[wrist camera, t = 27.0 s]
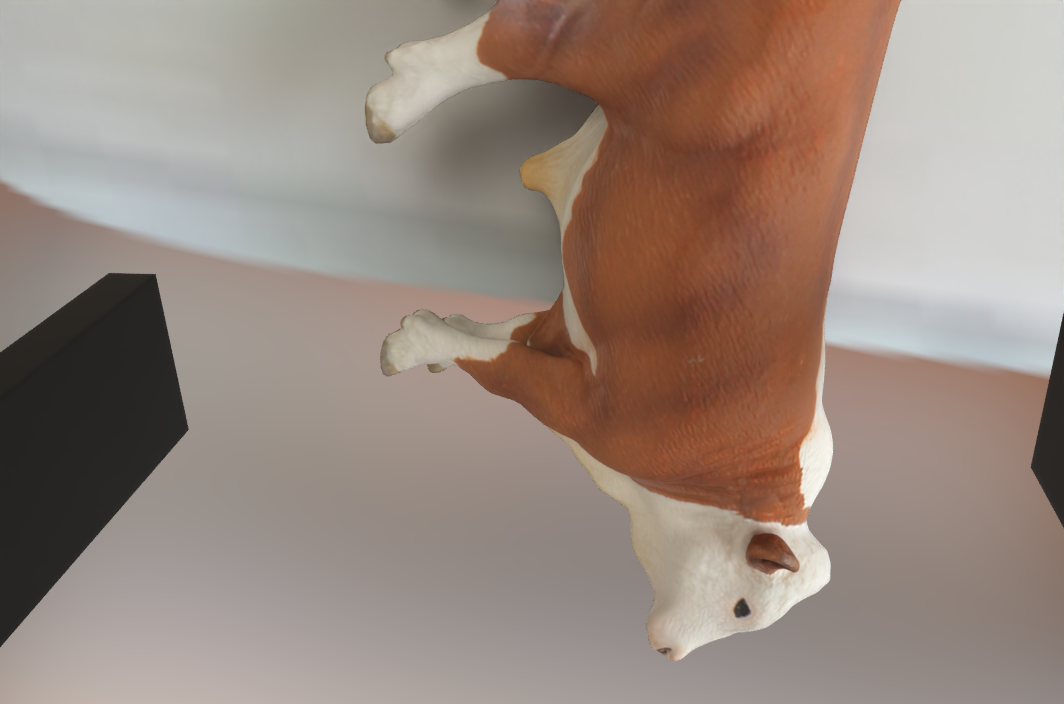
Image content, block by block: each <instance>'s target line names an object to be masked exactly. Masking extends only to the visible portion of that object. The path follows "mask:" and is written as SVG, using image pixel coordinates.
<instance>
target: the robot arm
mask: <svg viewBox="0 0 1064 704" xmlns="http://www.w3.org/2000/svg"><path fill="white" fill-rule="evenodd" d="M187 431H188V425H187V420H186V415H185V410H184V406H183V402H182V396H181V392H180V388H179V382H178V377H177V373H176V368H175V364H174V359H173V354H172V349H171V345H170V340H169V336H168V331H167V326H166V321H165V316H164V312H163V307H162V302H161V298H160V293H159V288H158V283H157V279H156V274H122V273H109V274H107V275H106V276H105V277H103V278H102V279H100V280H99V281H98V282H96V283H95V284H93V285H92V286H91V287H90V288H88V289H87V290H85V291H84V292H83V293H81V294H80V295H78V296H77V297H76V298H74V299H73V300H72V301H70V302H69V303H67V304H66V305H65V306H63V307H62V308H61V309H59V310H58V311H56V312H55V313H54V314H52V315H51V316H50V317H48V318H47V319H46V320H44V321H43V322H41V323H40V324H39V325H37V326H36V327H35V328H33V329H32V330H31V331H29V332H28V333H26V334H25V335H24V336H23V337H21V338H19V339H18V340H17V341H15V342H14V343H13V344H11V345H10V346H9V347H7V348H6V349H5V350H3V351H2V352H0V647H1V645H3V643H4V642H5V641H6V640H7V639H8V638H9V636H10V635H11V634H12V633H13V632H14V631H15V630H16V628H17V627H18V626H19V625H20V624H21V622H22V621H23V620H24V619H25V618H26V617H27V616H28V615H29V613H30V612H31V611H32V610H33V609H34V608H35V606H36V605H37V604H38V603H39V602H40V601H41V600H42V598H43V597H44V596H45V595H46V594H47V593H48V591H49V590H50V589H51V588H52V586H54V584H55V583H56V582H57V581H58V580H59V579H60V578H61V576H62V575H63V574H64V573H65V572H66V571H67V570H68V568H69V567H70V566H71V565H72V564H73V563H74V561H75V560H76V559H77V558H78V557H79V556H80V554H81V553H82V552H83V551H84V550H85V549H86V548H87V546H88V545H89V544H90V543H91V542H92V541H93V539H94V538H95V537H96V536H97V535H98V534H99V533H100V531H101V530H102V529H103V528H104V527H105V525H106V524H107V523H108V522H109V521H110V520H111V519H112V517H113V516H114V515H115V514H116V513H117V512H118V511H119V509H120V508H121V507H122V506H123V505H124V504H125V502H126V501H127V500H128V499H129V498H130V497H131V496H132V494H133V493H134V492H135V491H136V490H137V489H138V488H139V486H140V485H141V484H142V483H143V482H144V481H145V479H146V478H147V477H148V476H149V475H150V474H151V473H152V471H153V470H154V469H155V468H156V467H157V465H158V464H159V463H160V462H161V461H162V460H163V459H164V458H165V456H166V455H167V454H168V453H169V452H170V451H171V449H172V448H173V447H174V446H175V445H176V444H177V442H178V441H179V440H180V439H181V438H182V437H183V436H184V434H185V433H186V432H187ZM1031 468H1032V470H1033V472H1034V474H1035V476H1036V477H1037V479H1038V481H1039V483H1040V485H1041V486H1042V488H1043V490H1044V492H1045V494H1046V496H1047V498H1048V499H1049V501H1050V503H1051V505H1052V507H1053V509H1054V511H1055V512H1056V514H1057V516H1058V518H1059V520H1060V522H1061V524H1062V525H1063V527H1064V314H1063V319H1062V323H1061V328H1060V333H1059V337H1058V342H1057V347H1056V351H1055V356H1054V361H1053V365H1052V370H1051V375H1050V380H1049V384H1048V389H1047V394H1046V399H1045V403H1044V408H1043V412H1042V417H1041V422H1040V427H1039V431H1038V436H1037V441H1036V445H1035V450H1034V455H1033V459H1032V464H1031Z"/></svg>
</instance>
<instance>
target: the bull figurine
mask: <svg viewBox="0 0 1064 704" xmlns="http://www.w3.org/2000/svg"><path fill="white" fill-rule="evenodd" d="M900 1H901V0H498V1H497V3H496V4H495V5H494V6H493V7H492V8H491V9H490V10H489V11H488V12H487V13H486V14H484V15H482V16H481V17H479V18H478V19H476V20H475V21H473V22H472V23H470V24H468V25H466V26H464V27H462V28H460V29H458V30H456V31H454V32H452V33H450V34H447V35H444V36H441V37H437V38H432V39H428V40H423V41H407V42H405V43H403V44H401V45H399V46H398V47H397V48H396V49H394V50H392V51H390V52H387V53H386V55H385V60H386V62H387V63H388V65H389V66H390V67H391V69H392V72H393V73H392V76H391V77H389V78H388V79H387V80H385V81H383V82H380V83H378V84H375V85H374V86H372V87H371V89H370V90H369V92H368V94H367V98H366V104H365V115H366V126H367V130H368V133H369V136H370V138H371V140H372V141H373V142H375V143H390V142H392V141H393V140H395V139H396V138H398V137H399V136H400V135H401V134H402V133H403V132H404V131H405V130H407V129H408V128H410V127H412V126H413V125H414V124H416V123H417V122H418V121H419V120H420V119H421V118H422V117H423V116H425V115H426V114H427V113H428V112H429V111H431V110H432V109H433V108H435V107H436V106H438V105H439V104H440V103H442V102H443V101H445V100H446V99H448V98H450V97H452V96H454V95H456V94H459V93H460V92H462V91H463V90H465V89H468V88H472V87H476V86H480V85H484V84H488V83H494V82H500V81H506V80H512V79H533V80H542V81H546V82H550V83H554V84H557V85H560V86H562V87H565V88H568V89H571V90H573V91H576V92H578V93H581V94H583V95H585V96H588V97H590V98H592V99H593V100H594V101H595V102H596V103H598V106H597V107H596V108H595V110H594V111H593V112H592V113H591V115H590V116H589V117H588V119H587V120H586V122H585V123H584V124H583V126H582V127H581V128H580V129H579V130H578V132H577V133H576V134H574V135H573V136H572V137H571V138H569V139H567V140H565V141H563V142H561V143H559V144H558V145H556V146H554V147H552V148H551V149H549V150H547V151H545V152H543V153H540V154H537V155H535V156H533V157H531V158H529V159H527V160H525V161H524V162H523V164H522V165H521V167H520V176H521V180H522V182H523V185H524V186H525V187H526V188H528V189H529V190H535V191H540V192H542V193H543V194H545V195H546V196H547V197H548V198H549V200H550V202H551V203H552V205H553V208H554V210H555V212H556V215H557V217H558V220H559V226H560V232H561V255H562V265H563V273H564V287H563V289H562V292H561V294H560V295H559V297H558V299H557V301H556V302H555V304H554V305H553V306H552V308H551V309H550V310H547V311H542V312H535V313H528V314H522V315H519V316H516V317H514V318H513V319H510V320H508V321H505V322H501V323H494V324H483V323H477V322H473V321H471V320H470V319H468V318H466V317H465V316H463V315H459V314H454V315H450V316H449V317H446V318H443V319H440V318H439V317H438V316H437V315H435V314H434V313H433V312H431V311H428V310H424V309H421V310H417V311H416V312H414V313H413V315H408V316H405V317H403V319H402V320H401V327H402V328H401V329H399V330H397V331H395V332H393V333H391V334H389V335H388V336H387V337H386V339H385V340H384V341H383V345H382V349H381V356H380V358H381V359H380V360H381V369H382V372H383V374H384V375H385V376H391V375H394V374H397V373H400V372H402V371H404V370H407V369H409V368H412V367H415V366H418V365H421V364H427V366H428V369H429V371H430V372H432V373H437V372H441V371H443V370H445V369H447V368H448V367H450V366H451V365H455V366H458V367H460V368H461V369H463V370H465V371H466V372H468V373H469V374H470V375H471V376H472V377H473V378H474V379H475V380H476V381H477V382H478V383H479V384H480V385H481V386H483V387H484V388H485V389H486V390H488V391H489V392H491V393H493V394H496V395H499V396H502V397H505V398H508V399H511V400H514V401H516V402H518V403H520V404H521V405H522V406H523V407H525V408H526V409H527V410H528V411H529V412H530V413H531V414H532V415H533V416H534V417H536V418H537V419H538V420H539V421H541V422H542V423H543V424H544V425H546V426H548V427H549V429H550V430H551V431H552V432H553V433H555V434H556V435H557V436H558V437H560V438H561V439H562V440H563V441H565V442H566V443H567V444H568V445H569V446H570V447H571V449H572V451H573V453H574V455H575V457H576V458H577V460H578V461H579V462H580V463H581V464H582V466H583V467H584V468H585V469H586V470H587V471H588V473H589V474H590V476H591V477H592V479H593V481H594V482H595V484H596V486H597V487H598V488H599V489H600V490H601V491H602V492H604V493H605V494H607V495H608V496H610V497H612V498H613V499H615V500H616V501H617V502H619V503H620V504H621V505H623V506H624V507H625V508H627V510H628V511H629V514H630V522H631V542H632V546H633V549H634V552H635V554H636V556H637V558H638V559H639V561H640V562H641V564H642V566H643V568H644V570H645V571H646V574H647V576H648V577H649V579H650V582H651V584H652V587H653V590H654V601H653V604H652V607H651V609H650V611H649V613H648V616H647V621H646V629H647V631H648V640H649V643H650V645H651V647H652V648H653V649H655V650H656V651H658V652H659V653H661V654H663V655H665V656H666V657H667V658H669V659H671V660H672V661H677V660H680V659H682V658H683V657H684V656H686V655H687V654H688V653H689V652H691V651H692V650H694V649H696V648H697V647H700V646H702V645H704V644H706V643H709V642H711V641H714V640H717V639H720V638H724V637H728V636H730V635H731V634H734V633H736V632H749V631H755V630H759V629H763V628H766V627H768V626H769V625H771V624H772V623H773V622H775V621H777V620H778V619H779V618H781V617H782V616H784V614H785V613H786V612H787V611H788V610H789V609H790V608H791V607H792V606H793V605H794V604H796V603H798V602H799V601H801V600H803V599H804V598H806V597H808V596H810V595H813V594H815V593H817V592H818V591H819V590H820V589H821V588H822V587H823V586H824V585H826V584H827V583H828V582H829V580H830V568H831V564H830V559H829V556H828V553H827V551H826V549H825V548H824V547H823V546H822V545H820V543H819V542H818V540H817V539H816V538H815V537H814V536H813V535H812V533H811V532H810V531H809V529H808V526H807V517H808V513H809V510H810V508H811V505H812V503H813V501H814V500H815V498H816V496H817V494H818V493H819V491H820V489H821V488H822V486H823V484H824V482H825V480H826V477H827V474H828V472H829V469H830V466H831V461H832V454H833V441H832V435H831V430H830V427H829V424H828V421H827V419H826V416H825V413H824V410H823V407H822V392H823V383H824V370H825V328H824V320H825V312H826V304H827V297H828V291H829V286H830V282H831V276H832V270H833V263H834V257H835V253H836V248H837V243H838V238H839V234H840V230H841V226H842V222H843V218H844V214H845V210H846V206H847V202H848V198H849V195H850V191H851V187H852V183H853V179H854V175H855V171H856V167H857V163H858V159H859V154H860V150H861V146H862V142H863V138H864V134H865V130H866V127H867V123H868V119H869V115H870V111H871V107H872V103H873V99H874V95H875V91H876V88H877V84H878V80H879V76H880V72H881V69H882V65H883V61H884V57H885V53H886V49H887V46H888V42H889V38H890V34H891V31H892V27H893V24H894V21H895V17H896V14H897V11H898V7H899V4H900Z"/></svg>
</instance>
